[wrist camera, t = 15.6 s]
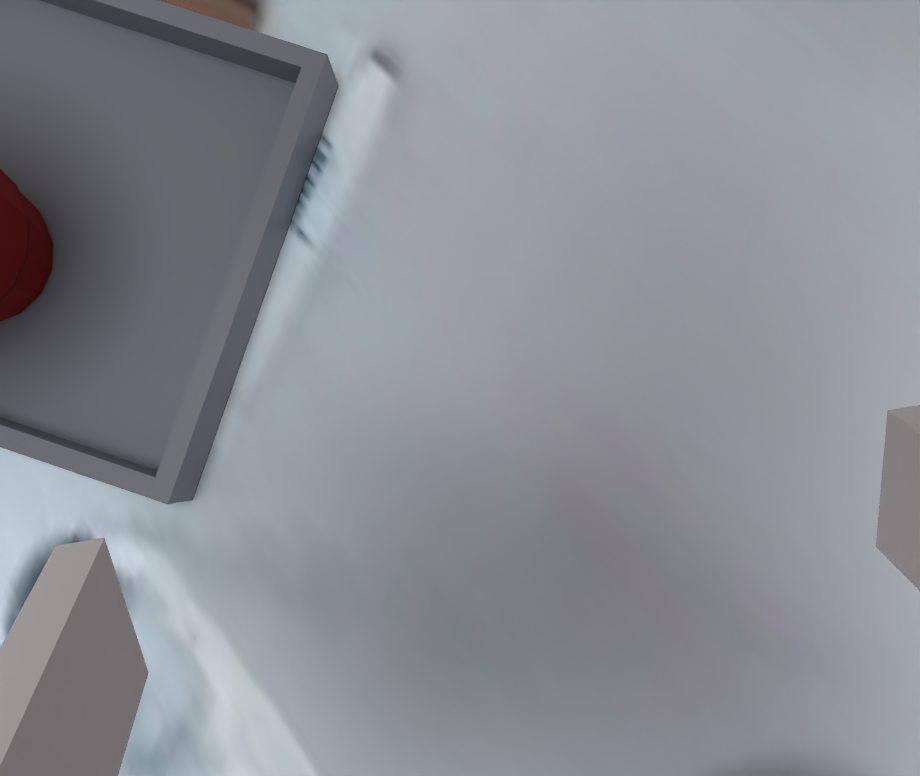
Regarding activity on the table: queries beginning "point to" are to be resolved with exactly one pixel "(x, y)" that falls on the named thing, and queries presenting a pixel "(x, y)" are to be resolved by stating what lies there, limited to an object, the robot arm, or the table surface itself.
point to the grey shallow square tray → (145, 225)
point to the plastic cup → (21, 250)
